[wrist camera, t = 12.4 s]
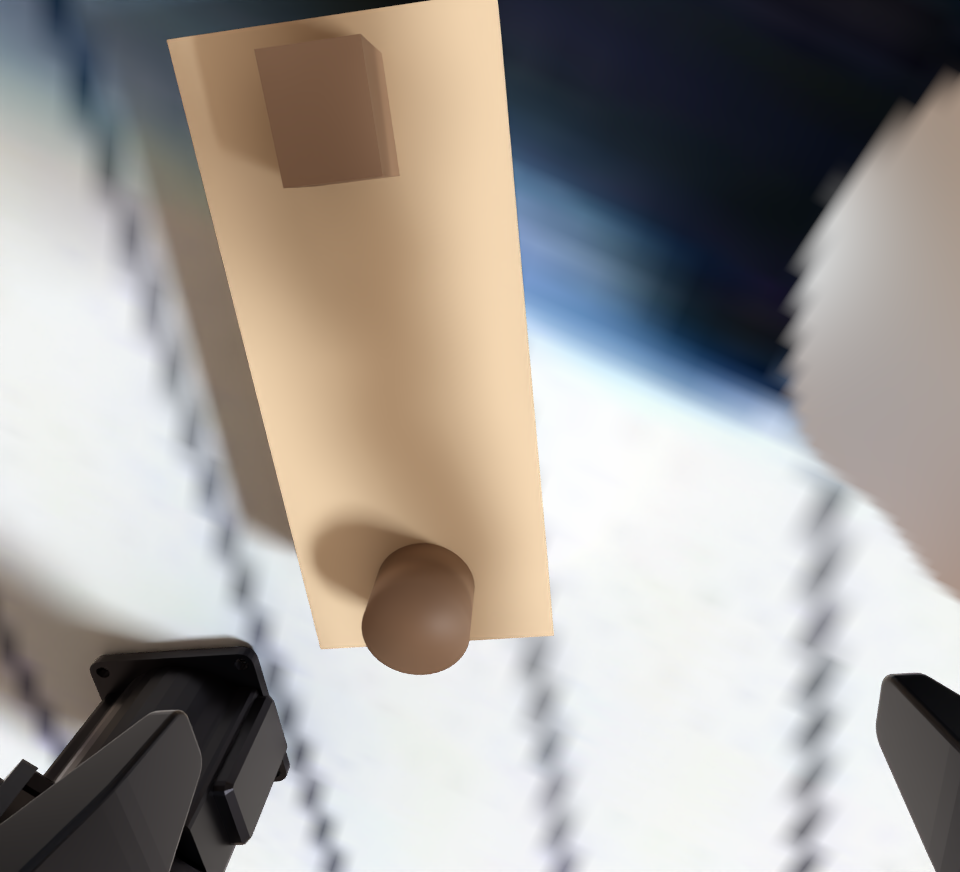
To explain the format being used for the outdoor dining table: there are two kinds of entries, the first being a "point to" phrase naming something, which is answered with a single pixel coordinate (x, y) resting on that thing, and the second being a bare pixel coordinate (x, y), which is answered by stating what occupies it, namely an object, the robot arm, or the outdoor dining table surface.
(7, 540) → the outdoor dining table surface
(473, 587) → the plane body
